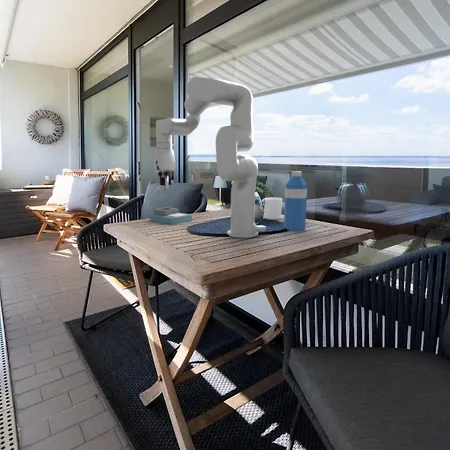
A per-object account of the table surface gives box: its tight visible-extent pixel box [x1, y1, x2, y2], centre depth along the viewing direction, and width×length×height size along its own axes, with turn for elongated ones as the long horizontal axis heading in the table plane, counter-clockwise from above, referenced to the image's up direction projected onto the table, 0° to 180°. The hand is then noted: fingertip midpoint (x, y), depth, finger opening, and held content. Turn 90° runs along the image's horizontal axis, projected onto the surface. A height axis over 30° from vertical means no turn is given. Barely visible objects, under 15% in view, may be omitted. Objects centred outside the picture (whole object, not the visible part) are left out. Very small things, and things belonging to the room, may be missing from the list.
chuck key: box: [161, 171, 173, 191], centre depth 166 cm, size 7×3×9 cm, turn 51°
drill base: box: [149, 206, 193, 226], centre depth 168 cm, size 18×13×6 cm
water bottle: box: [283, 170, 308, 232], centre depth 147 cm, size 9×9×25 cm
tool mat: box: [168, 212, 187, 217], centre depth 164 cm, size 6×7×1 cm
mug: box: [261, 197, 283, 221], centre depth 174 cm, size 11×9×10 cm
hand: (165, 184), depth 166 cm, fingers closed on chuck key, 3 cm apart
